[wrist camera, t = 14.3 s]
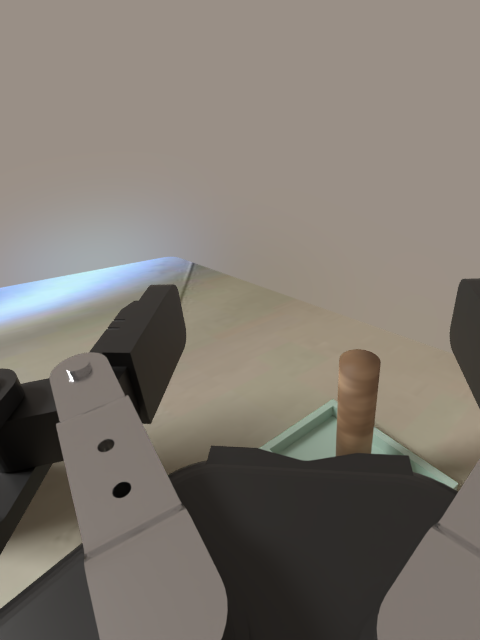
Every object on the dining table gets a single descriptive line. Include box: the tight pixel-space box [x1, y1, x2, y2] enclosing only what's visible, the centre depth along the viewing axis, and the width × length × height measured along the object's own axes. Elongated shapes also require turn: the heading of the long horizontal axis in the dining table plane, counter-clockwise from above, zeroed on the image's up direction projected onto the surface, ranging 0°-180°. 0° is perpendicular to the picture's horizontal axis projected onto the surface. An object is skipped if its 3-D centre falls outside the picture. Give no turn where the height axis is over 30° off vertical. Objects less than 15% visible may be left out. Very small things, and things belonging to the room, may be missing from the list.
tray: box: [259, 399, 458, 490], centre depth 41 cm, size 15×11×2 cm
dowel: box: [336, 349, 380, 456], centre depth 37 cm, size 3×3×14 cm
